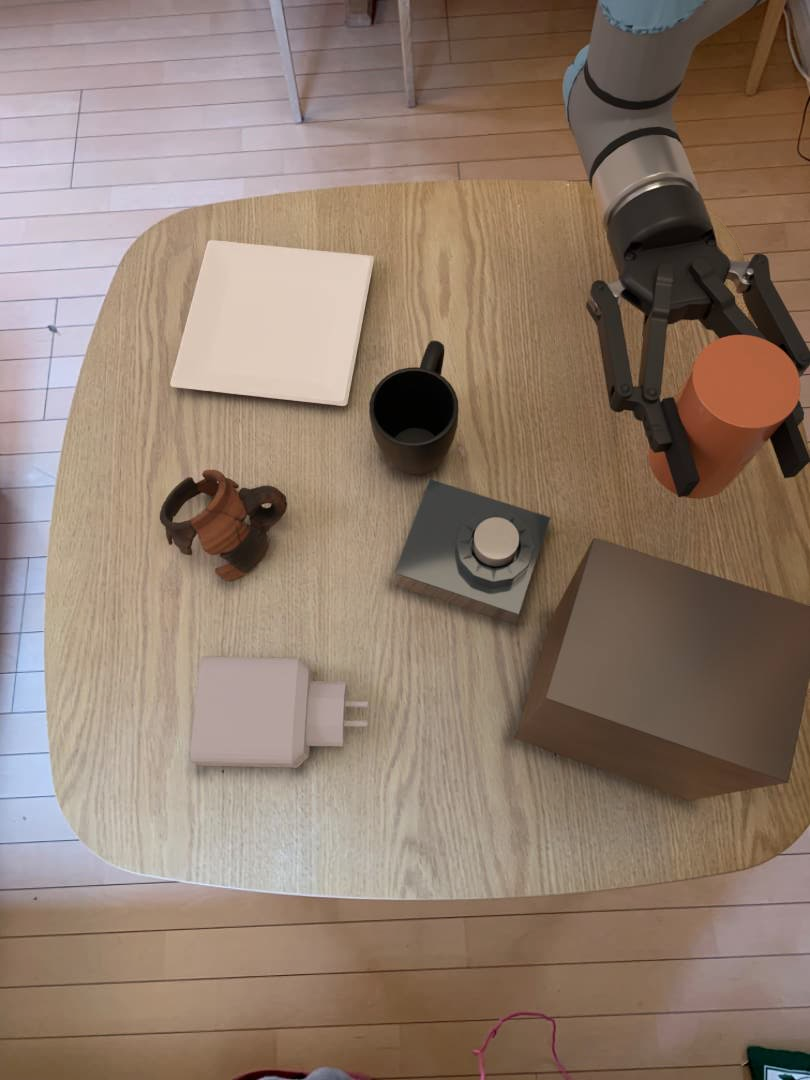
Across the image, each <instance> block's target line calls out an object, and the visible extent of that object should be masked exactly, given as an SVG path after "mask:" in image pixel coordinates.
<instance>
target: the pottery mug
mask: <svg viewBox="0 0 810 1080" xmlns="http://www.w3.org/2000/svg"><path fill="white" fill-rule="evenodd" d="M201 476H202V478H203V479H200V480H199V481H197V482H195V480H194V478H193V477H192V476H188V477H186V478H184V480H182V481H181V482H179V483H178V484H177V485H176V486H175V487H174V488H173V489H172V490H171V491H170V492H169V493H168V495H167V496H166V498H165V500H164V501H163V503H162V505H161V509H160V511H159V521H160V523H161V524H162V526H164V527H165V537H166V540H167V543H168V545H169V546H172V545H173V543H174V546H176V548H178V549H179V552H180V553H181V554H183V555H185V556H192V555H193V548H192V546H193V542H194V539H195V538H196V536H197V537H198V539H199V542H200V545H201V547H202V550H203V552H204V553H206V554H207V555H210V556H217V555H219V557H220V558H222V559H223V560H225V561H226V562H227V563H226V564H224V565H221V566H219V567H216V568H215V569H214V573H215V574H216V575H217V576H219V577H220V578H222V579H224V580H225V581H228V582H230V581H235V580H236V579H239V578H241V577H243V576H245V575H246V574H249V572H251V571H253V569H254V568H256V567H257V566H258V565H259V564H260V563H261V562H262V561H263V559H264V558H265V556H266V555H267V552H268V550H269V546H270V542H269V540H268V535H267V532H269V531H270V529H271V528H272V527H273V526H274V525H275V524H277V523H278V522H280V520H281V519H282V518H283V516H284V515H285V514H286V511H287V509H288V502H287V495H285V494H284V493H283V492H282V491H281V490H280V489H278V488H277V487H275V486H273V485H261V486H257V487H253V488H248V487H241V488H240V489H239V490H237V489H238V488H239V487H240V485H239V484H238V483H237V482H236V481H235V480H233V479H231V478H230V477H226V476H225V474H224V473H223V472H221V471H219V470H217V469H206V470H203V471H202V474H201ZM200 494H205V495H206V496H209V497H212V500H211V502H210V503H209V504H208V505H207V506H206V507H205V509H203V510H202V511H201V512H199V513H198V514H197V515H195V516H193V517H192V518H191V519H188V520H184V521H180V522H175V521H174V517H176V516H177V514H178V513H179V511H180V510H181V508H182V507H183V506H184V505H185V504H186V503H187V502H188V501H190V500H191V499H193V498H195V497H197V496H199V495H200ZM265 504H269V505H270V506H268V507H264V506H263V505H265ZM247 517H249V523H250V524H248V523H247V522H245V520H246V518H247Z"/></svg>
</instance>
